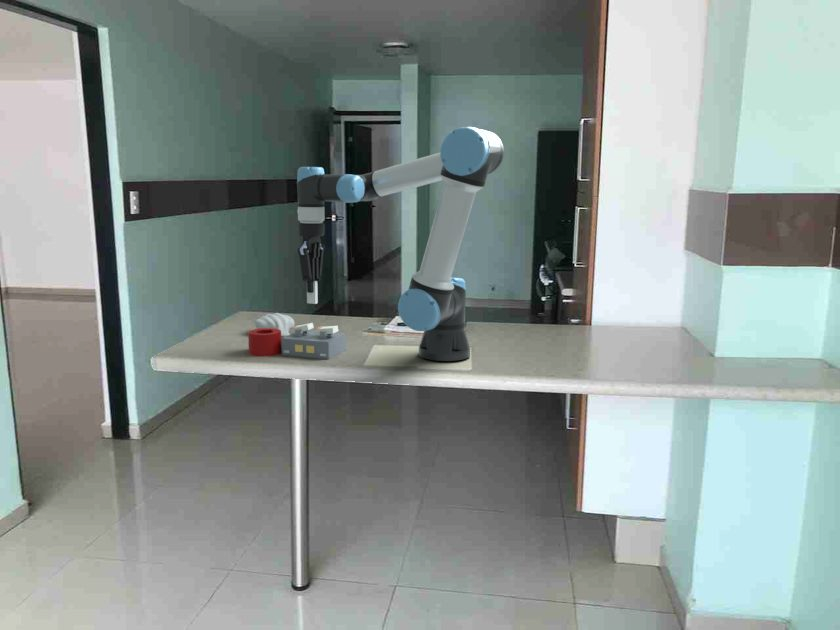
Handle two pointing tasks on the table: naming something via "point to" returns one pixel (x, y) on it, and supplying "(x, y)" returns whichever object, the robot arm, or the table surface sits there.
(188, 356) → the table surface
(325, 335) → the panel
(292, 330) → the rocker
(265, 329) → the lever
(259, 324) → the shell shaped sculpture
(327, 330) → the rocker
